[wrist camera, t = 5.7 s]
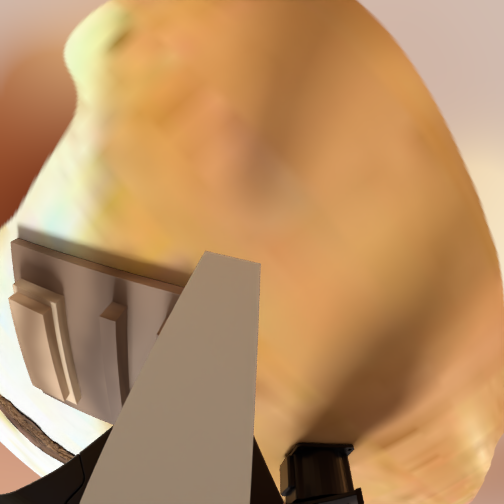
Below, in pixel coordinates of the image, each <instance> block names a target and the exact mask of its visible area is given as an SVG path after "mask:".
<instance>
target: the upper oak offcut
mask: <svg viewBox="0 0 504 504" xmlns="http://www.w3.org/2000/svg"><path fill="white" fill-rule="evenodd" d="M8 299H9V304H10V309H11V313H12V318H13V322H14V326H15V330H16V334H17V338H18V341H19V345H20V348H21V352H22V355H23V358H24V361H25V364H26V367H27V370H28V373H29V376H30V379H31V382H32V384H33V385H34V386H35V387H37V388H39V389H41V390H43V391H44V392H46V393H48V394H50V395H52V396H54V397H56V398H58V399H60V400H62V401H64V402H65V400H66V399H67V397H68V396H69V394H70V392H69V389H68V385H67V382H66V378H65V374H64V370H63V366H62V362H61V357H60V353H59V348H58V343H57V338H56V332H55V326H54V320H53V314H52V307H50V306H48V305H45V304H43V303H41V302H39V301H36V300H34V299H32V298H30V297H28V296H25V295H23V294H21V293H19V292H16V293H15V294H13V295H12V296H11V297H9V298H8Z"/></svg>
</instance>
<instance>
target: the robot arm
mask: <svg viewBox="0 0 504 504" xmlns="http://www.w3.org/2000/svg"><path fill="white" fill-rule="evenodd" d="M112 429H113V426H112V427H111V428H110V429H109V430H107V431H106V432H105V433H104V434H102V435H101V436H100V437H99V438H97V439H96V440H95V441H94V442H92V443H91V444H90V445H89V446H87V447H86V448H85V449H84V450H82V451H81V452H80V453H79V454H80V455H79V454H77V455H76V456H74V457H73V458H72V459H71V460H69V461H68V462H66V463H65V464H64V465H62V466H61V467H59V468H58V469H56V470H55V471H53V472H51V473H49V474H48V475H46V476H44V477H42V478H40V479H38V480H37V481H34V482H32V483H30V484H29V485H26V486H24V487H22V488H20V489H18V490H16V491H13V492H10V493H6V494H0V504H80V501H81V499H82V496H83V494H84V492H85V489H86V487H87V484H88V482H89V480H90V477H91V475H92V473H93V470H94V468H95V466H96V464H97V461H98V459H99V457H100V455H101V452H102V450H103V448H104V446H105V444H106V441H107V439H108V437H109V435H110V433H111V431H112ZM353 450H354V446H353V445H335V444H309V443H299V444H297V445H296V446H295V447H294V449H293V450H292V452H291V453H290V454H289V455H288V456H287V457H286V458H285V460H284V461H283V463H282V464H281V465H280V493H279V491H278V489H277V487H276V484H275V482H274V480H273V478H272V476H271V474H270V471H269V469H268V467H267V465H266V463H265V460H264V458H263V456H262V453H261V451H260V449H259V447H258V444H257V442H256V440H255V437H254V435H253V453H252V472H251V490H250V504H283V503H284V501H283V499H282V497H281V495H282V496H286V504H364V501H363V496H362V491H361V488H357V489H356V490H354V487H353V481H352V476H351V471H350V466H349V461H348V455H349V454H350V453H351V452H352V451H353ZM280 494H281V495H280Z"/></svg>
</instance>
